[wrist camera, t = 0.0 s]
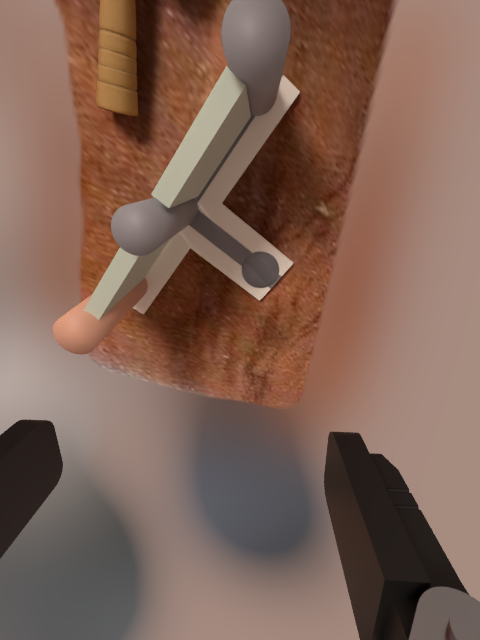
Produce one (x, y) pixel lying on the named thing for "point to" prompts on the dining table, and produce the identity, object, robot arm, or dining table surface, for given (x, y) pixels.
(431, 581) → the robot arm
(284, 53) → the fence fixed
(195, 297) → the dining table surface
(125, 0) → the kendama
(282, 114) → the board
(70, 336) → the gate
